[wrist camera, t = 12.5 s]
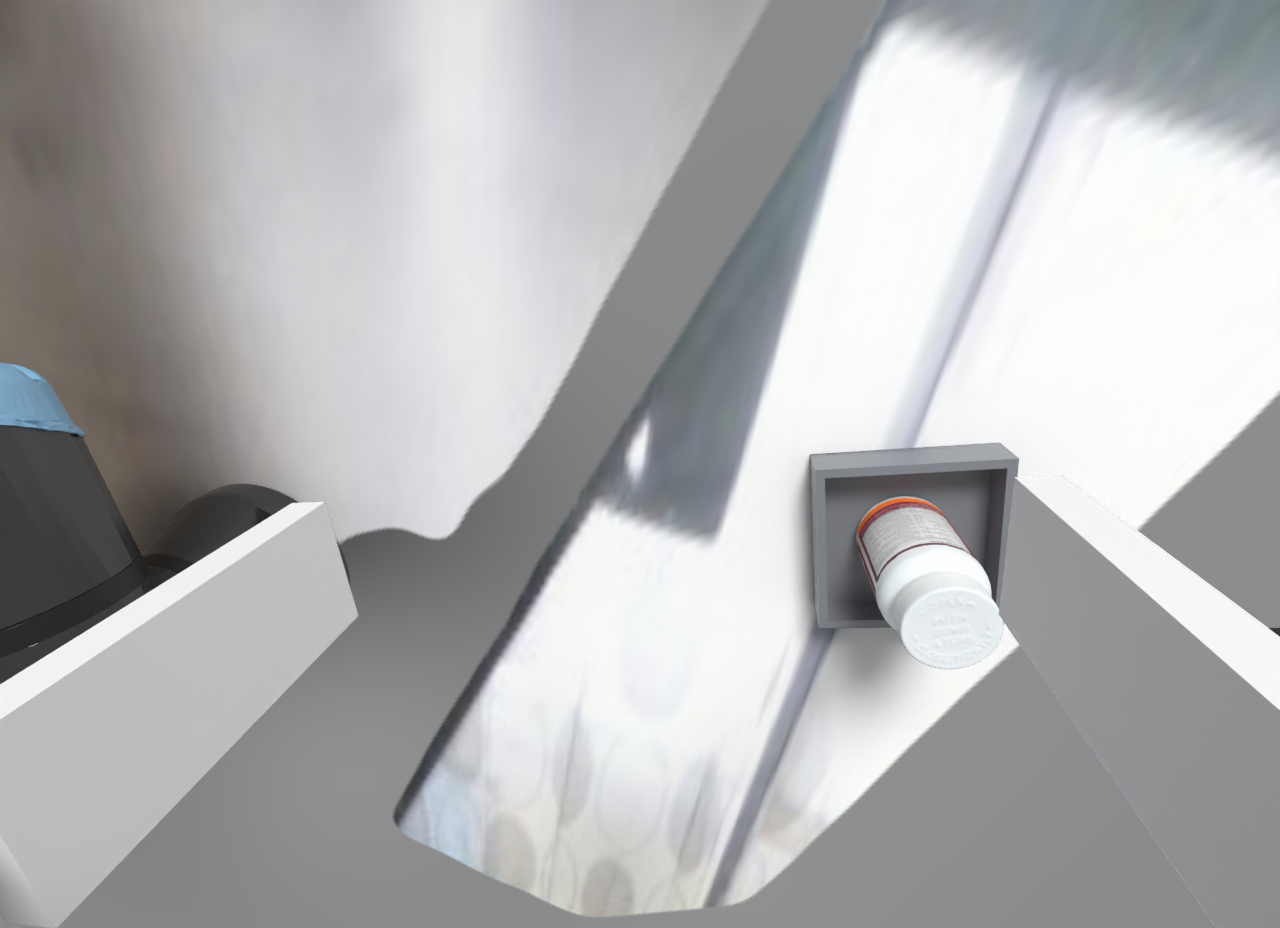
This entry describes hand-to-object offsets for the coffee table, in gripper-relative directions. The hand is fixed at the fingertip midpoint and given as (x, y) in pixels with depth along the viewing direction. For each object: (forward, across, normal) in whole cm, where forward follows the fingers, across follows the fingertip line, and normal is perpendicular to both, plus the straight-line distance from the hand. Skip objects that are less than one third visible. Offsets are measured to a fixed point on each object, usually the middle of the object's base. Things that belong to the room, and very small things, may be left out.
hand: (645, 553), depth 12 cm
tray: (+31, +13, -15) cm, 37 cm away
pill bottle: (+30, +12, -15) cm, 36 cm away
